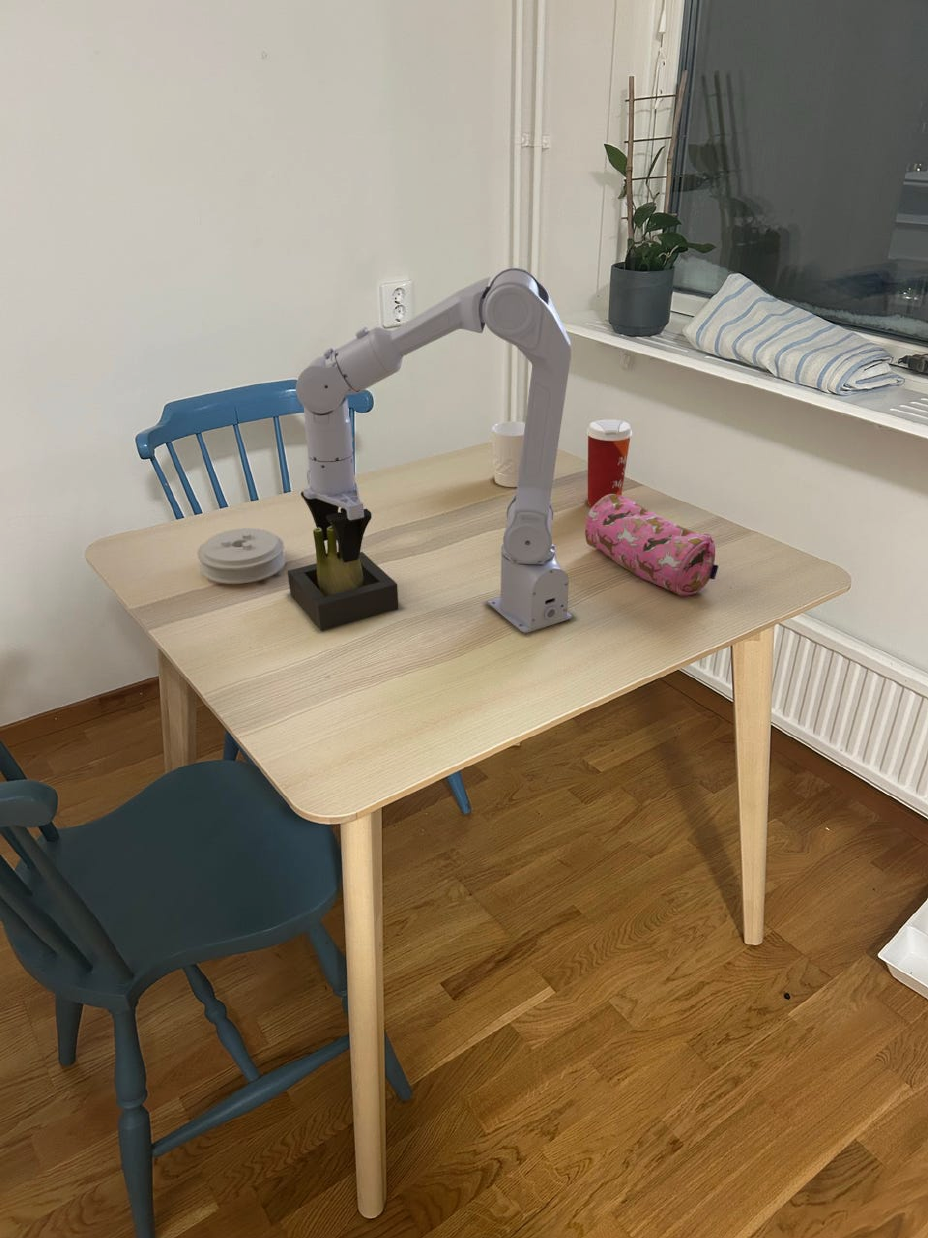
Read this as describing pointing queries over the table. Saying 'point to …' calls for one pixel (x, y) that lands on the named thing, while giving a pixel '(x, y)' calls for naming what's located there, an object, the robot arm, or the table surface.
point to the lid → (241, 556)
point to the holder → (343, 596)
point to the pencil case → (651, 545)
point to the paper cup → (607, 457)
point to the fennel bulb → (335, 566)
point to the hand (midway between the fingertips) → (339, 549)
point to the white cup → (507, 452)
